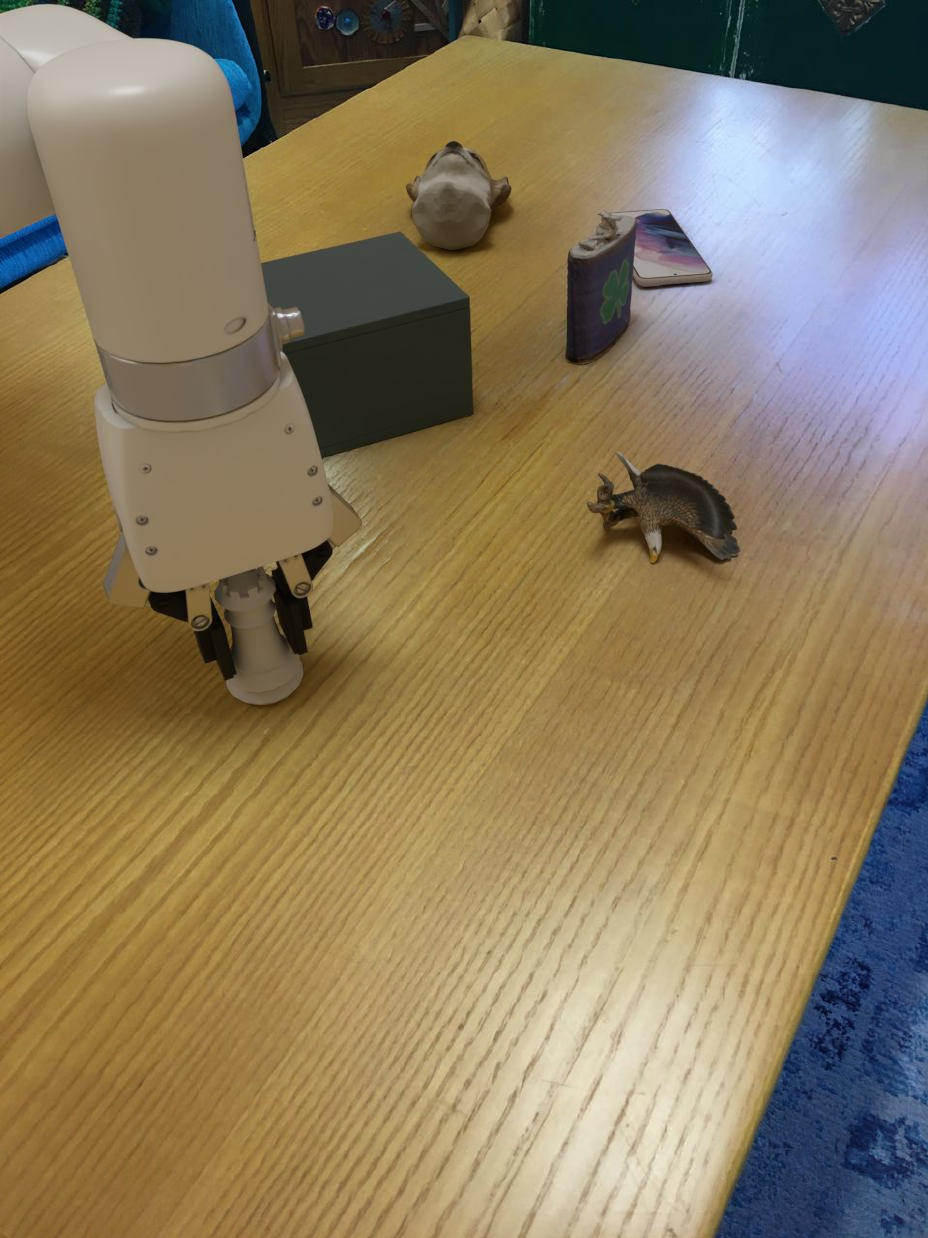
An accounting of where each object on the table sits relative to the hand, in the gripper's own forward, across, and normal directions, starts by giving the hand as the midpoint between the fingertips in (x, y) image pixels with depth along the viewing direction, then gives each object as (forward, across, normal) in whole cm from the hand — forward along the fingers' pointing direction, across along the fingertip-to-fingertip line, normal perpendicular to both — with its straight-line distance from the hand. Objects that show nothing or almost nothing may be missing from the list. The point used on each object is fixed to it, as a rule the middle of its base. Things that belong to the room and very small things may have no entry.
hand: (258, 648), depth 60 cm
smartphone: (+3, -50, -37) cm, 62 cm away
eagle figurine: (+3, -27, 0) cm, 27 cm away
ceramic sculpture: (+3, -36, -51) cm, 62 cm away
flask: (+3, -37, -25) cm, 45 cm away
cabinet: (+3, -15, -26) cm, 30 cm away
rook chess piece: (+3, 0, 0) cm, 3 cm away
